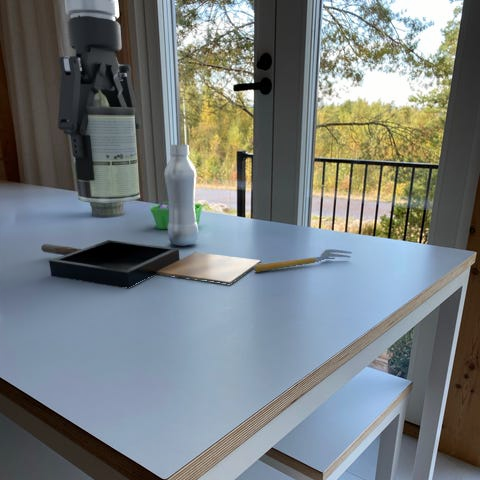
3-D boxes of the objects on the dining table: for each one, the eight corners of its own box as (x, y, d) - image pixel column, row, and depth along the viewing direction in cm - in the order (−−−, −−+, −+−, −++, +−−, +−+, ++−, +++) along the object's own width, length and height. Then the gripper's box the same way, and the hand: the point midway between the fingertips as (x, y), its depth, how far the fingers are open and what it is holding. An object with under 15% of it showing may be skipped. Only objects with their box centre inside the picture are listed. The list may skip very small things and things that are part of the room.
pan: (10, 269, 84) (7, 253, 83) (73, 248, 98) (71, 234, 97) (128, 288, 75) (127, 271, 74) (179, 262, 89) (179, 248, 87)
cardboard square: (156, 274, 82) (156, 271, 82) (195, 255, 94) (195, 252, 93) (230, 285, 77) (230, 282, 76) (261, 263, 89) (261, 260, 88)
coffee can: (64, 200, 77) (52, 105, 71) (101, 192, 86) (93, 107, 80) (119, 205, 74) (111, 106, 68) (151, 196, 83) (147, 107, 77)
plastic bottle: (205, 243, 102) (202, 144, 94) (185, 250, 97) (180, 146, 89) (182, 239, 105) (178, 143, 97) (161, 246, 100) (155, 145, 92)
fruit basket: (150, 229, 114) (147, 181, 110) (162, 222, 122) (159, 177, 118) (196, 232, 112) (194, 182, 108) (205, 224, 120) (204, 178, 116)
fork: (257, 265, 81) (352, 250, 89) (252, 260, 83) (347, 246, 90) (255, 278, 83) (349, 262, 90) (251, 273, 84) (344, 258, 92)
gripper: (57, 1, 59) (79, 186, 68) (157, 30, 78) (163, 171, 87) (12, 5, 61) (38, 182, 70) (119, 32, 81) (129, 168, 89)
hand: (107, 176), depth 78 cm, fingers closed on coffee can, 10 cm apart
